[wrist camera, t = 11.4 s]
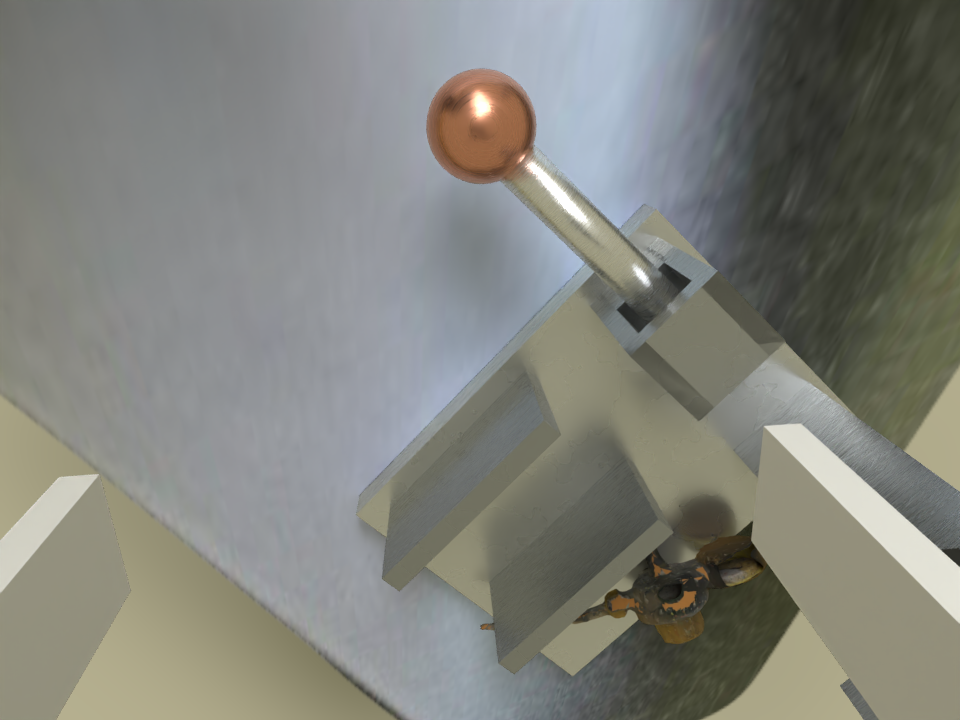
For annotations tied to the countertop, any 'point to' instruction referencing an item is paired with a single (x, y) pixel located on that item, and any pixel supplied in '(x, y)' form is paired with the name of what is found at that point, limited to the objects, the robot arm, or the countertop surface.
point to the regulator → (680, 588)
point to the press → (616, 455)
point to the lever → (535, 180)
